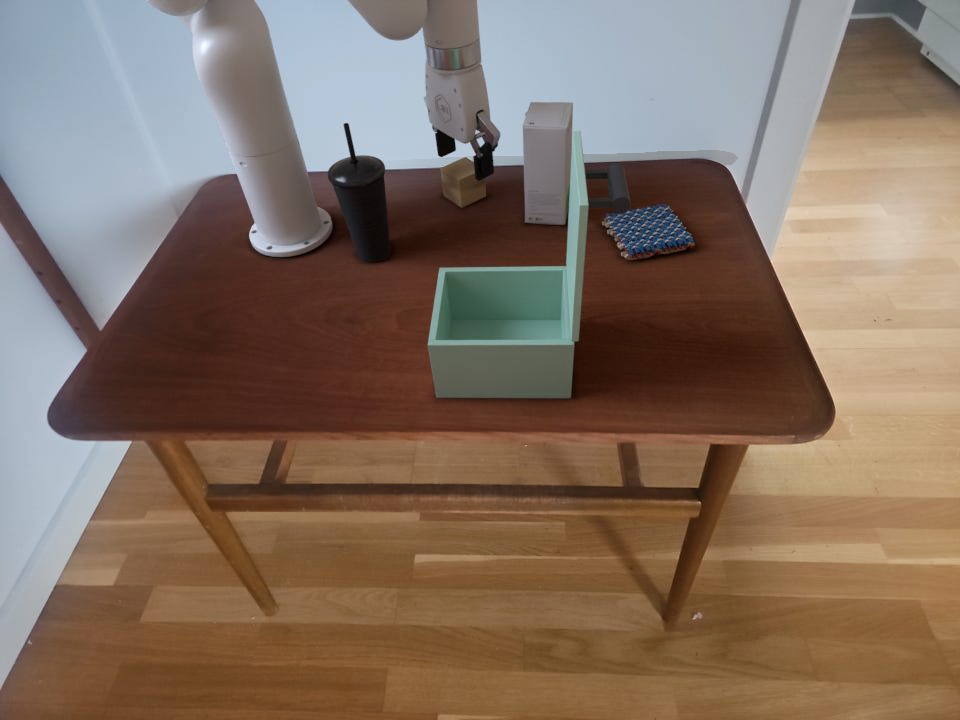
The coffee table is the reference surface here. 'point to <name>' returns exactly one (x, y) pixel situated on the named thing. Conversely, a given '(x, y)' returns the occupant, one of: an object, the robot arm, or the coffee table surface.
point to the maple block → (462, 183)
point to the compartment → (501, 333)
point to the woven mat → (648, 232)
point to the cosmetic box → (547, 161)
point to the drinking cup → (363, 201)
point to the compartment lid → (579, 219)
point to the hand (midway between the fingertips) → (465, 164)
